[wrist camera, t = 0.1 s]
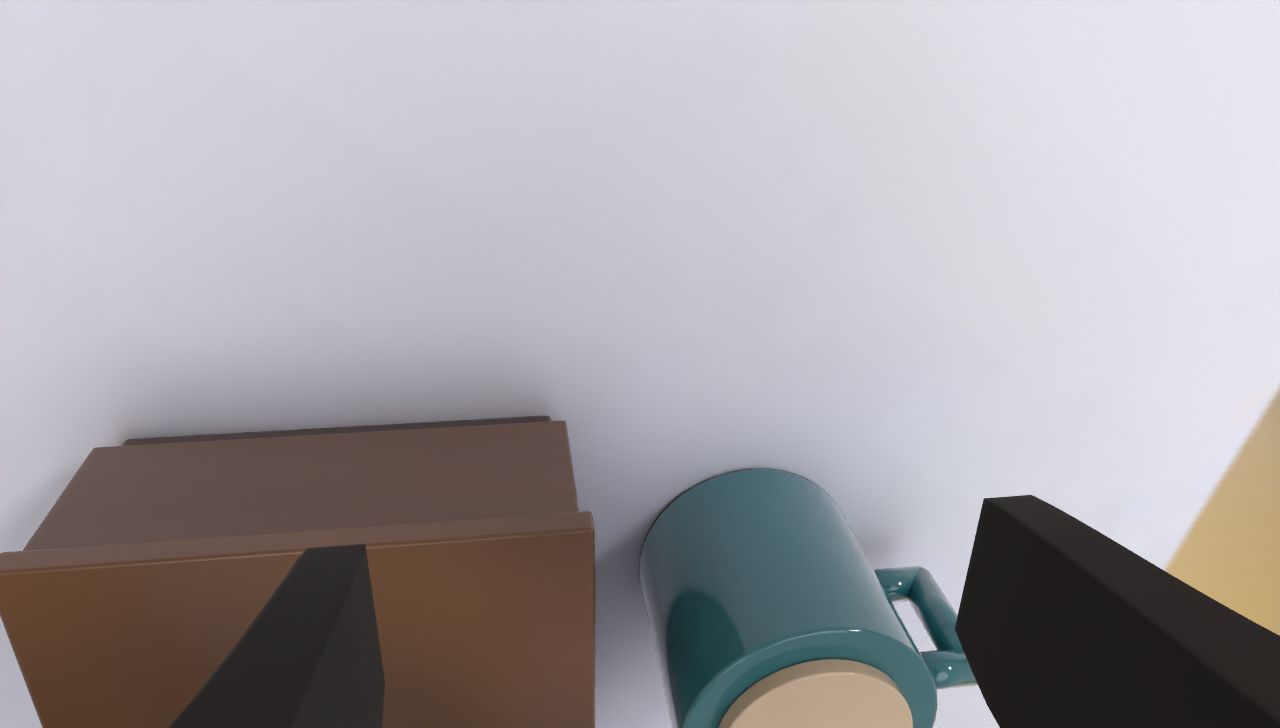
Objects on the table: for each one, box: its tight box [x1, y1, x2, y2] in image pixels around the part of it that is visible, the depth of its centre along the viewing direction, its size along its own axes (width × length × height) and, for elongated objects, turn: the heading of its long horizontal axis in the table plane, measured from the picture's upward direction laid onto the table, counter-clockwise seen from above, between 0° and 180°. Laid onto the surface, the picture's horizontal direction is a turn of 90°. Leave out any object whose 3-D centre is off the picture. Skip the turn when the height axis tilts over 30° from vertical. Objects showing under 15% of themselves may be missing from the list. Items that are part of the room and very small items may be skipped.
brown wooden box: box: [0, 416, 595, 728], centre depth 21 cm, size 10×10×5 cm
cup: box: [639, 469, 977, 728], centre depth 21 cm, size 5×7×6 cm
